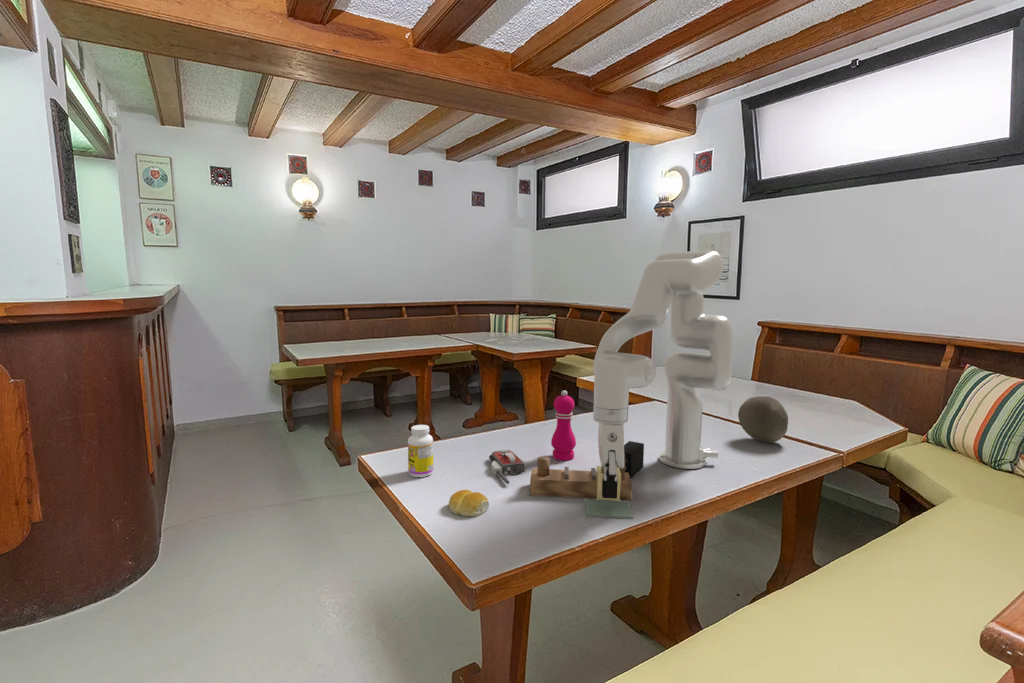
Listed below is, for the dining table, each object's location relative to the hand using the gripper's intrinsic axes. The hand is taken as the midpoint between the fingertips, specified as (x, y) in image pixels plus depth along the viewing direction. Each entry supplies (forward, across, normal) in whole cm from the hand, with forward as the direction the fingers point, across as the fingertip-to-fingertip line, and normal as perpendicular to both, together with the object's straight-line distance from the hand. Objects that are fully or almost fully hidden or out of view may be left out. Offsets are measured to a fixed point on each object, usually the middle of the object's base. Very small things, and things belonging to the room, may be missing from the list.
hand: (608, 491), depth 110 cm
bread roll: (+5, -3, +31) cm, 32 cm away
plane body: (+4, +9, +6) cm, 12 cm away
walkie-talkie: (+5, +20, +25) cm, 33 cm away
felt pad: (+4, 0, 0) cm, 4 cm away
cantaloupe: (+4, +54, -54) cm, 76 cm away
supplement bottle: (+4, +16, +48) cm, 51 cm away
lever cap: (+1, 0, 0) cm, 1 cm away
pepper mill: (+4, +33, +10) cm, 35 cm away
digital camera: (+4, +24, -8) cm, 26 cm away
